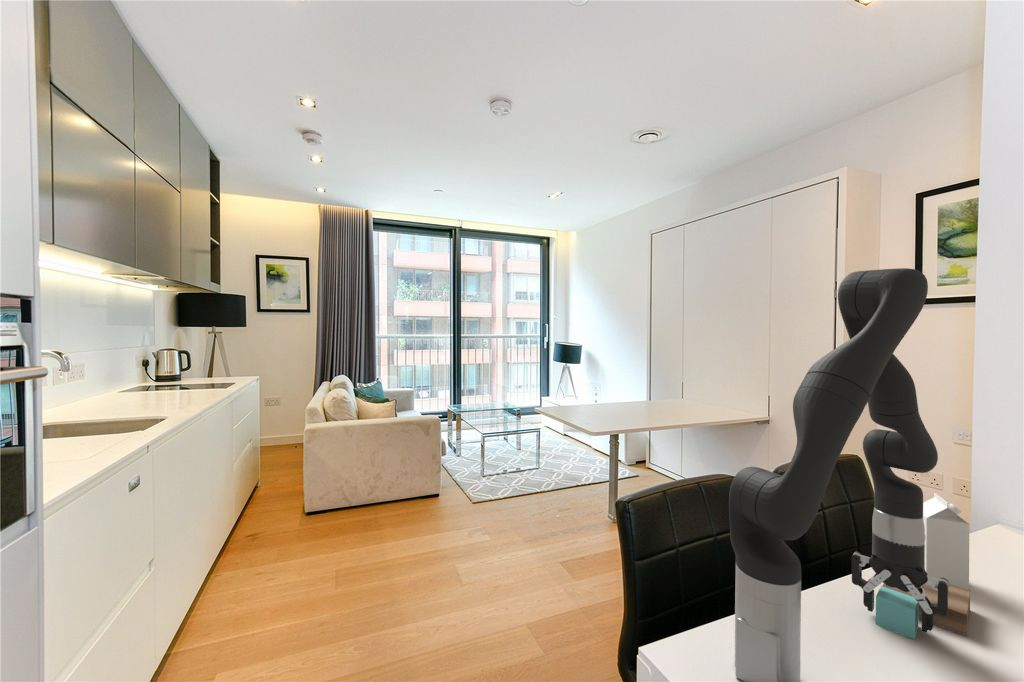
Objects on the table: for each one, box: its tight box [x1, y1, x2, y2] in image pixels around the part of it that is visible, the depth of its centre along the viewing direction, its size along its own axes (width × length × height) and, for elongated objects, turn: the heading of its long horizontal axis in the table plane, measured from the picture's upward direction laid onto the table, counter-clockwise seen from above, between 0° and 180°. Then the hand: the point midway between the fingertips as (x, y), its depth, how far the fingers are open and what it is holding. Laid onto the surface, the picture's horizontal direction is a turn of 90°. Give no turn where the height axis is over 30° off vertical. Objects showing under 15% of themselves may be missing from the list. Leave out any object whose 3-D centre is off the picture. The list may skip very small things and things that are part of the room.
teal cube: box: [875, 585, 919, 640], centre depth 82 cm, size 6×6×6 cm
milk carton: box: [923, 492, 970, 590], centre depth 97 cm, size 7×7×19 cm
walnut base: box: [882, 582, 971, 637], centre depth 87 cm, size 12×12×4 cm
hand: (897, 619), depth 82 cm, fingers open, 7 cm apart
